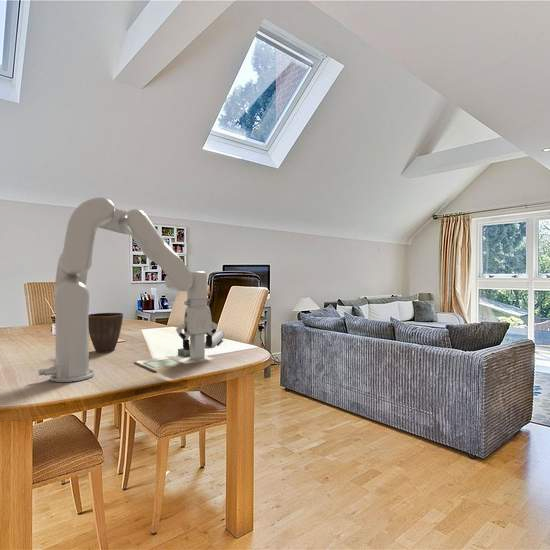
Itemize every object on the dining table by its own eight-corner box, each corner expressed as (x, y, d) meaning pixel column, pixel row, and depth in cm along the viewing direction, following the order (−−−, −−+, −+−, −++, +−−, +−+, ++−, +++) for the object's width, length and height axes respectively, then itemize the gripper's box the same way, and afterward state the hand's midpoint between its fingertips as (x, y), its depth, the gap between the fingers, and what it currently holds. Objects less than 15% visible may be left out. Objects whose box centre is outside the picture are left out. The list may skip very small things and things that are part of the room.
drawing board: (153, 372, 131) (153, 362, 131) (134, 364, 144) (133, 354, 144) (216, 361, 147) (216, 352, 147) (194, 354, 160) (193, 346, 160)
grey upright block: (195, 360, 145) (195, 330, 145) (190, 358, 148) (190, 329, 148) (204, 358, 148) (204, 329, 148) (199, 356, 151) (199, 328, 151)
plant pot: (120, 353, 163) (120, 315, 163) (82, 355, 160) (82, 316, 160) (125, 347, 178) (125, 312, 178) (90, 348, 174) (90, 313, 174)
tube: (216, 341, 170) (225, 332, 195) (204, 337, 170) (215, 329, 195) (212, 353, 170) (222, 342, 195) (201, 349, 170) (212, 339, 195)
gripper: (181, 305, 140) (182, 352, 140) (221, 302, 151) (222, 346, 151) (171, 304, 145) (172, 349, 146) (211, 301, 157) (212, 343, 157)
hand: (197, 348), depth 148 cm, fingers open, 9 cm apart
